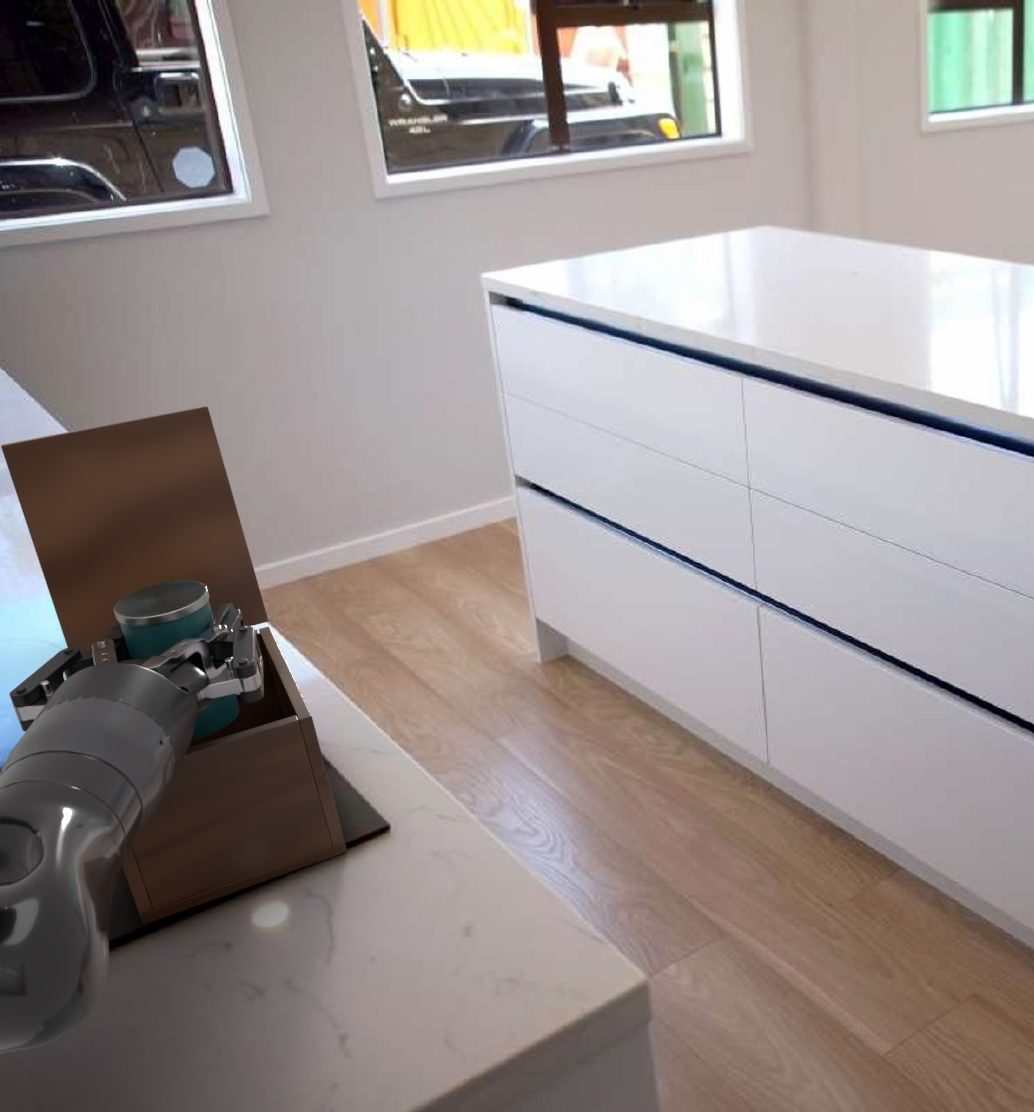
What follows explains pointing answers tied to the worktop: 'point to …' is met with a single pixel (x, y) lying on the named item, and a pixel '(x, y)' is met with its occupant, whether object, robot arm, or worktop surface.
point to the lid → (132, 517)
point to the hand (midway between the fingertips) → (184, 622)
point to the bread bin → (239, 804)
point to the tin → (172, 634)
